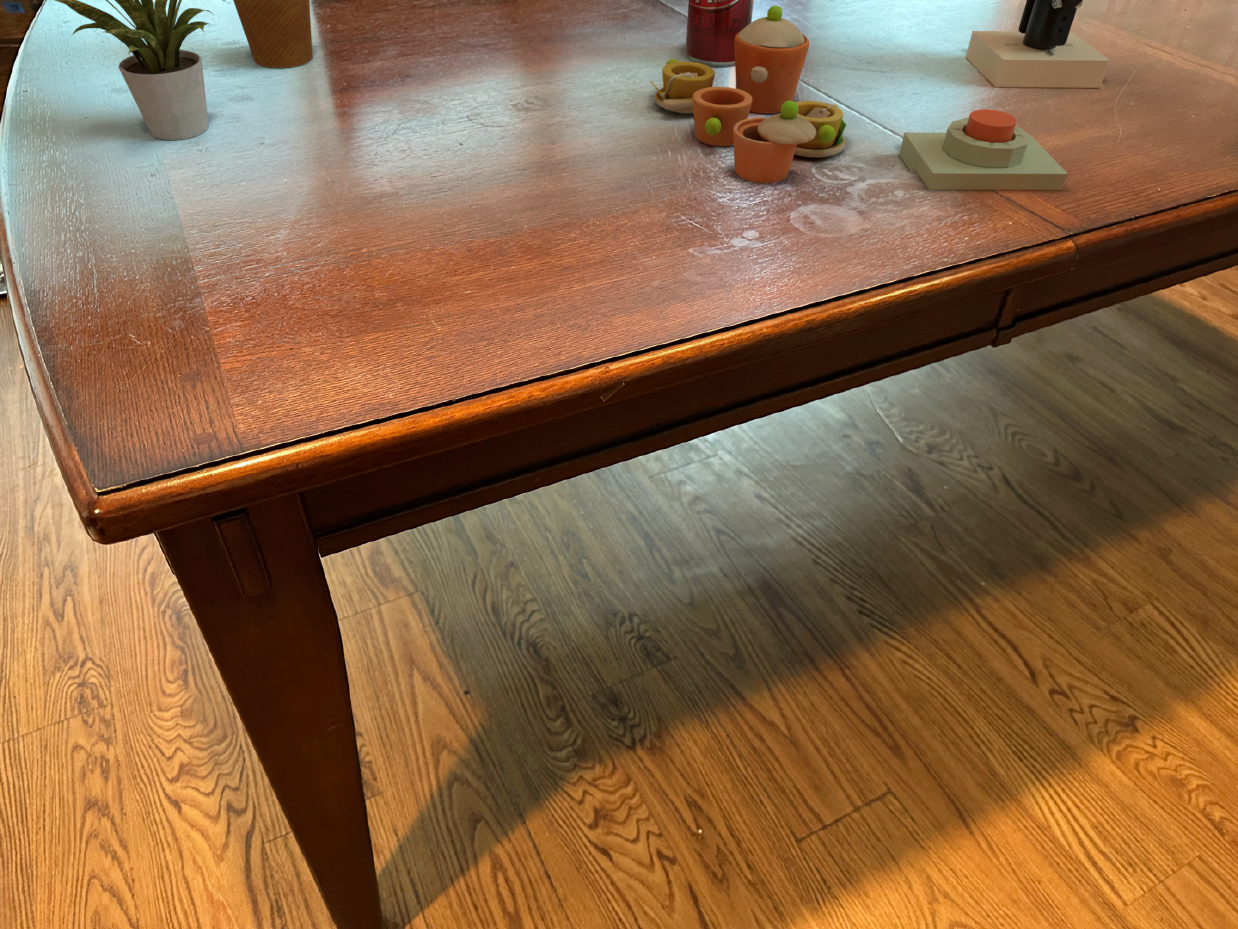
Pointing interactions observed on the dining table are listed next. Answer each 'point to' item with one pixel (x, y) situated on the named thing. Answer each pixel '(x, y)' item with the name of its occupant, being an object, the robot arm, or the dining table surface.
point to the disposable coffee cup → (277, 31)
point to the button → (990, 126)
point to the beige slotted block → (1035, 61)
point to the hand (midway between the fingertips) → (1041, 36)
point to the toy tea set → (757, 102)
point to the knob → (1036, 24)
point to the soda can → (715, 29)
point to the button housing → (980, 161)
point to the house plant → (158, 63)
